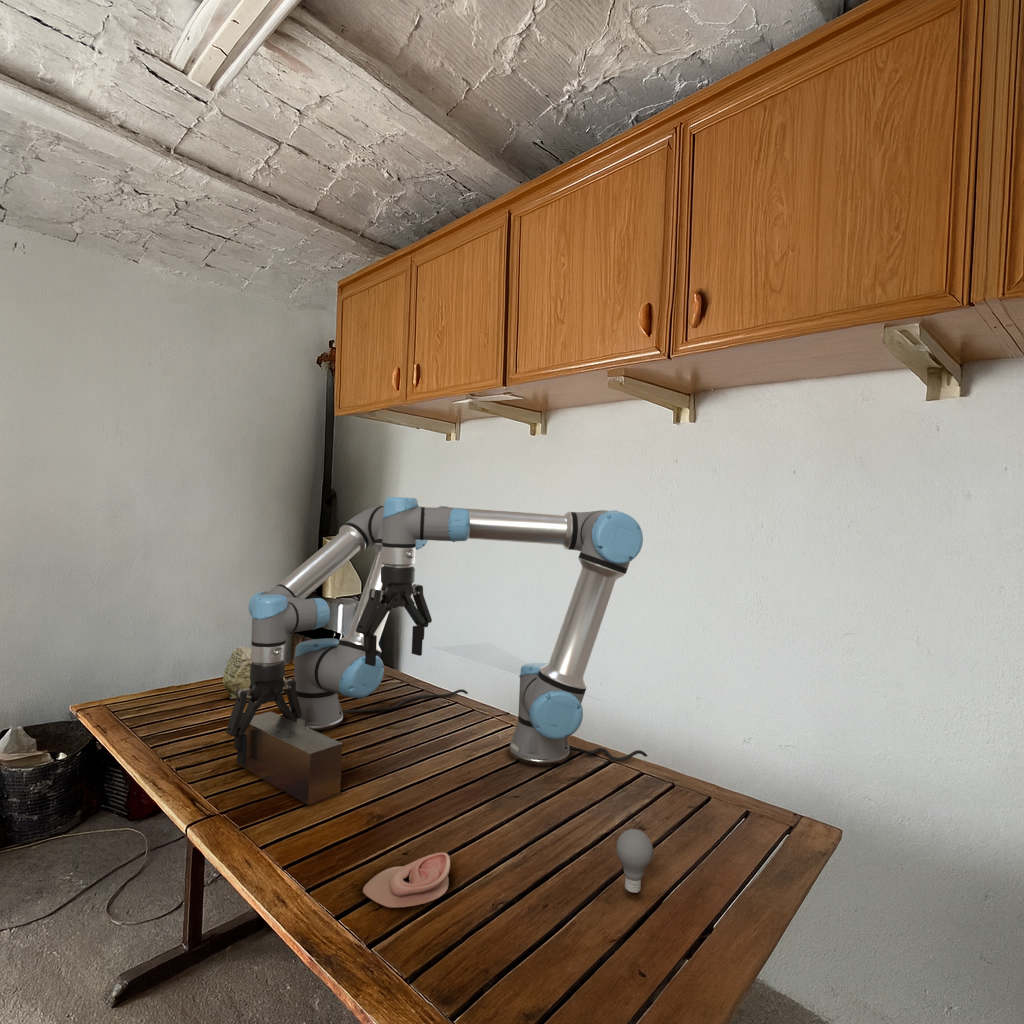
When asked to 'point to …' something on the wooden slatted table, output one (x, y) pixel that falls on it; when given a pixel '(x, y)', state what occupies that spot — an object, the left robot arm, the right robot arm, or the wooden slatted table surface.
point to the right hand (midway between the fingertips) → (394, 659)
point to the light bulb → (634, 857)
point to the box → (293, 757)
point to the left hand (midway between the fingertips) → (264, 756)
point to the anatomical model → (411, 882)
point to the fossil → (238, 671)
